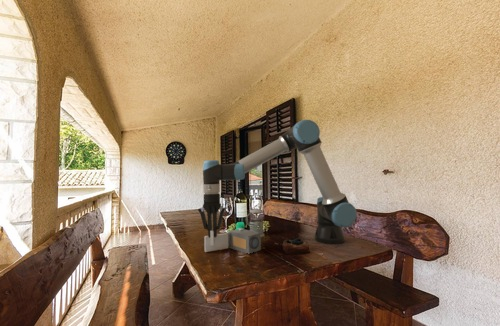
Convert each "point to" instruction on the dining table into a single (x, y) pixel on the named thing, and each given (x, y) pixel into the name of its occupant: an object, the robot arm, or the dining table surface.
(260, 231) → the french press
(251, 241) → the camera block
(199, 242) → the dining table surface
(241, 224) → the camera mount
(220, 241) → the side door
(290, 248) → the pastry
